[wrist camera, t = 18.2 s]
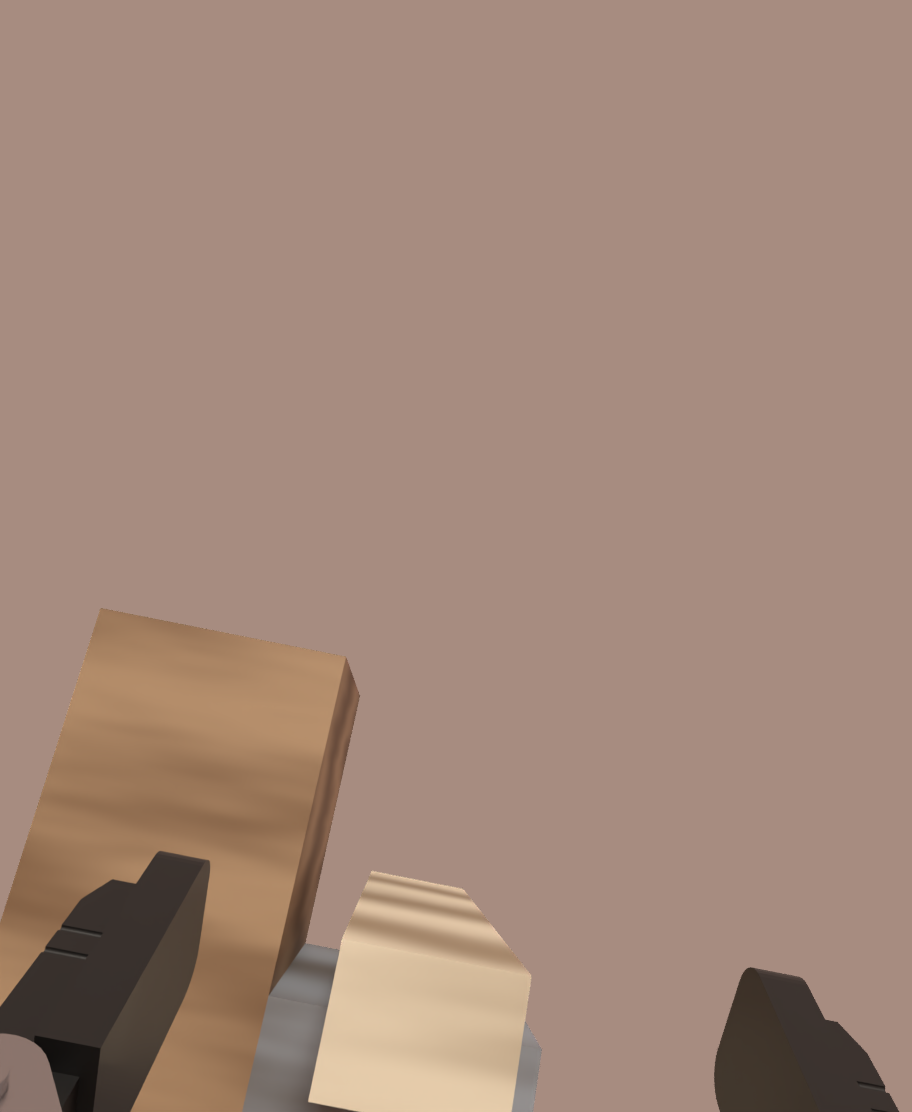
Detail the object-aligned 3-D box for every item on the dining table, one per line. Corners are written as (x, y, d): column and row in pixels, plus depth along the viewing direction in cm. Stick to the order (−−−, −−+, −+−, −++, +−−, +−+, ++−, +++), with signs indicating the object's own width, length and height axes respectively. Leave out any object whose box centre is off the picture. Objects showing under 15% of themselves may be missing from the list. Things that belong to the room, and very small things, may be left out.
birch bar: (356, 945, 36) (371, 871, 37) (450, 963, 36) (462, 888, 37) (308, 1101, 17) (342, 938, 18) (507, 1140, 17) (531, 976, 18)
